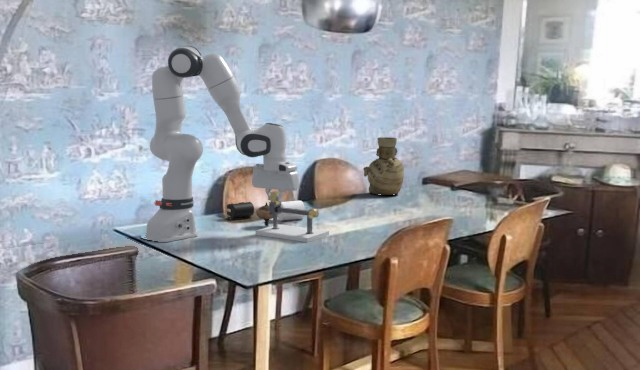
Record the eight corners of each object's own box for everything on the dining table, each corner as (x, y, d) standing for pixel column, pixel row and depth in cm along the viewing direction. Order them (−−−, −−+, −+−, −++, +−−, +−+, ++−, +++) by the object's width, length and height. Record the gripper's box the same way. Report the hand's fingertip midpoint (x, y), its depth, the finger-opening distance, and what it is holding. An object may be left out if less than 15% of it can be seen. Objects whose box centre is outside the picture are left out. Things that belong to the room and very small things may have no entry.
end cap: (235, 221, 296) (234, 205, 295) (226, 218, 301) (225, 203, 300) (254, 218, 302) (254, 202, 301) (245, 215, 308) (245, 200, 307)
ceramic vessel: (363, 191, 377) (364, 135, 373) (402, 191, 375) (403, 136, 371) (362, 197, 358) (363, 138, 354) (404, 197, 357) (405, 139, 352)
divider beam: (315, 234, 261) (315, 209, 260) (267, 228, 273) (267, 204, 272) (318, 233, 263) (318, 208, 262) (271, 227, 275) (270, 203, 274)
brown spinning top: (252, 226, 285) (252, 201, 284) (268, 223, 290) (268, 199, 289) (264, 229, 279) (263, 204, 277) (280, 226, 284) (280, 202, 283)
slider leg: (274, 228, 270) (274, 192, 268) (269, 227, 271) (268, 192, 269) (281, 226, 274) (281, 191, 272) (275, 226, 275) (275, 190, 273)
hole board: (307, 242, 256) (307, 237, 256) (255, 234, 269) (255, 230, 268) (329, 234, 269) (329, 230, 268) (278, 227, 281) (278, 224, 281)
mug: (276, 219, 300) (276, 200, 299) (297, 217, 304) (297, 199, 303) (287, 224, 289) (287, 205, 288) (309, 222, 294) (309, 203, 293)
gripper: (248, 164, 272) (248, 199, 274) (291, 167, 261) (291, 204, 263) (258, 162, 277) (258, 197, 279) (301, 166, 266) (301, 201, 268)
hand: (274, 200), depth 271 cm, fingers closed on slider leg, 3 cm apart
